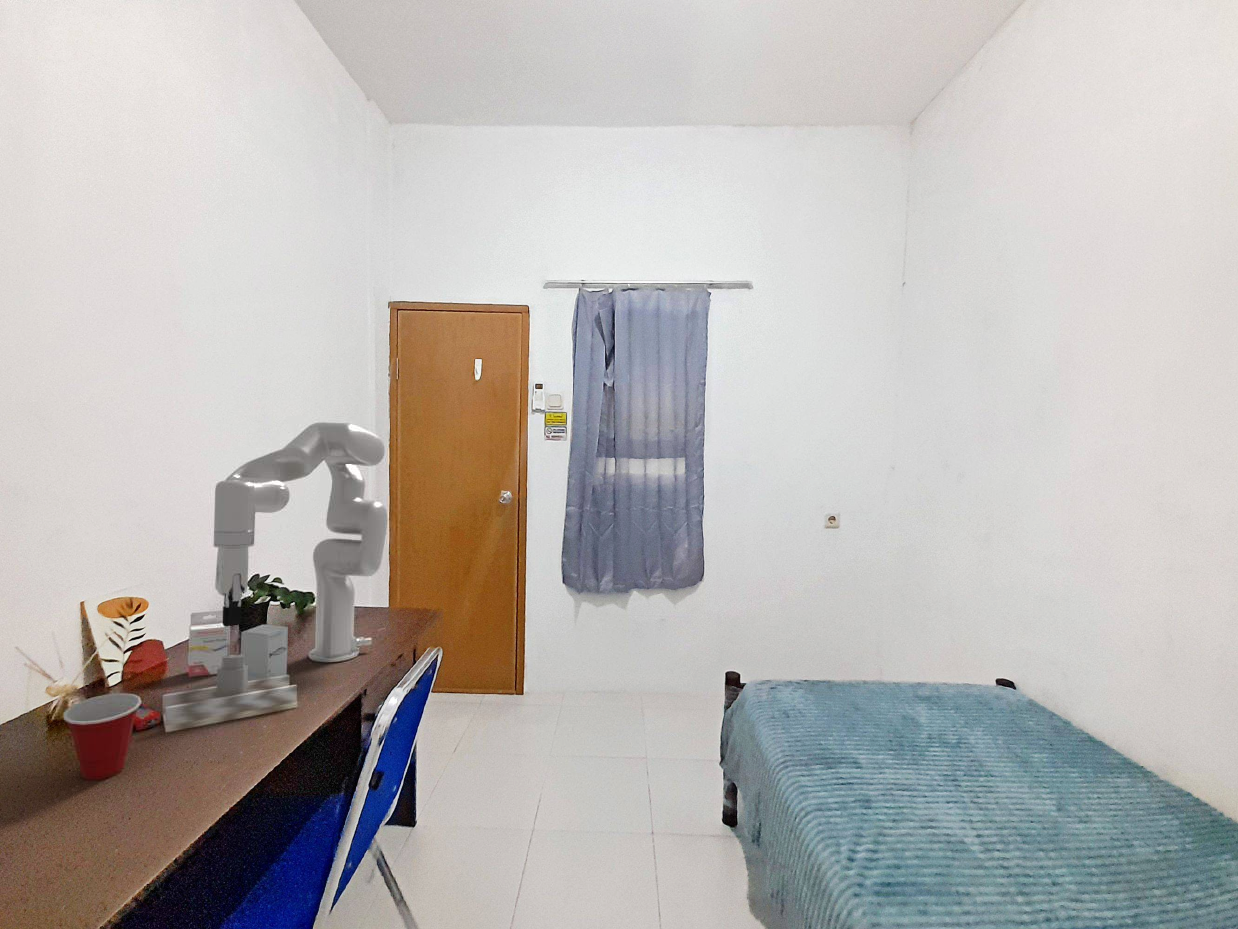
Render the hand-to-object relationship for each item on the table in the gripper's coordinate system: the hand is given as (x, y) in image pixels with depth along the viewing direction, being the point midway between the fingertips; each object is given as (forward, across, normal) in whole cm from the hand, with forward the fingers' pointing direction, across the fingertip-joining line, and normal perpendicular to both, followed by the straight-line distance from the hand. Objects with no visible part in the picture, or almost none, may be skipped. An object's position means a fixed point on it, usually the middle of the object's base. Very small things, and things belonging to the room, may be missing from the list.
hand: (231, 624), depth 145 cm
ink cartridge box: (+19, -30, 0) cm, 35 cm away
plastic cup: (+19, +18, -22) cm, 34 cm away
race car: (+19, -4, -17) cm, 26 cm away
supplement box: (+19, -16, +10) cm, 27 cm away
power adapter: (+17, -1, +1) cm, 17 cm away
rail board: (+19, 0, 0) cm, 19 cm away
